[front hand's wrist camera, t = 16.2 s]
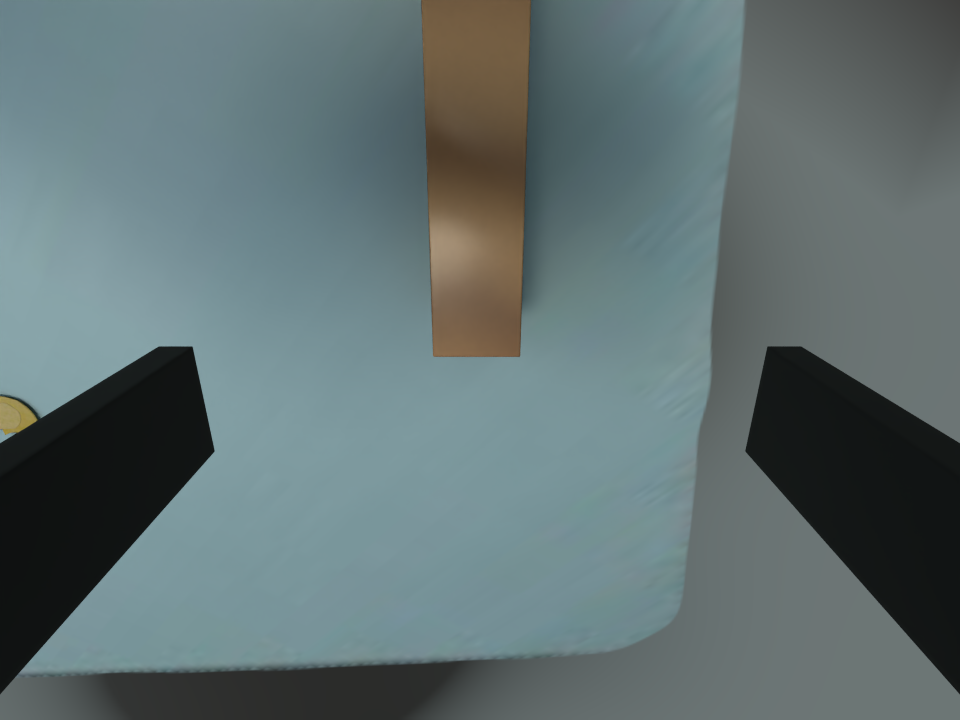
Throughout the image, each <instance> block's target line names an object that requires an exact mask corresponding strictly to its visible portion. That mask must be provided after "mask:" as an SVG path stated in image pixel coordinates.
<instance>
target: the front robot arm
mask: <svg viewBox="0 0 960 720" xmlns="http://www.w3.org/2000/svg"><path fill="white" fill-rule="evenodd" d="M213 453H214V446H213V441H212V436H211V432H210V427H209V422H208V418H207V413H206V408H205V403H204V399H203V394H202V389H201V384H200V380H199V375H198V370H197V366H196V361H195V356H194V351H193V347H157V348H156V349H154V350H152V351H151V352H149V353H148V354H146V355H144V356H143V357H141V358H139V359H138V360H136V361H134V362H133V363H131V364H129V365H128V366H126V367H125V368H123V369H121V370H120V371H118V372H116V373H115V374H113V375H111V376H110V377H108V378H107V379H105V380H103V381H102V382H100V383H98V384H97V385H95V386H93V387H92V388H90V389H88V390H87V391H85V392H84V393H82V394H80V395H79V396H77V397H75V398H74V399H72V400H70V401H69V402H67V403H66V404H64V405H62V406H61V407H59V408H57V409H56V410H54V411H52V412H51V413H49V414H47V415H46V416H44V417H43V418H41V419H39V420H38V421H36V422H34V423H33V424H31V425H29V426H28V427H26V428H25V429H23V430H21V431H20V432H18V433H16V434H15V435H13V436H11V437H10V438H8V439H6V440H5V441H3V442H2V443H0V694H1V693H2V691H3V690H4V689H5V688H6V687H7V686H8V685H9V684H10V682H11V681H12V680H13V679H14V678H15V677H16V676H17V675H18V673H19V672H20V671H21V670H22V669H23V668H24V667H25V665H26V664H27V663H28V662H29V661H30V660H31V659H32V658H33V656H34V655H35V654H36V653H37V652H38V651H39V650H40V649H41V647H42V646H43V645H44V644H45V643H46V642H47V641H48V639H49V638H50V637H51V636H52V635H53V634H54V633H55V632H56V630H57V629H58V628H59V627H60V626H61V625H62V624H63V622H64V621H65V620H66V619H67V618H68V617H69V616H70V615H71V613H72V612H73V611H74V610H75V609H76V608H77V607H78V605H79V604H80V603H81V602H82V601H83V600H84V599H85V598H86V596H87V595H88V594H89V593H90V592H91V591H92V590H93V588H94V587H95V586H96V585H97V584H98V583H99V582H100V581H101V579H102V578H103V577H104V576H105V575H106V574H107V573H108V572H109V570H110V569H111V568H112V567H113V566H114V565H115V564H116V562H117V561H118V560H119V559H120V558H121V557H122V556H123V555H124V553H125V552H126V551H127V550H128V549H129V548H130V547H131V545H132V544H133V543H134V542H135V541H136V540H137V539H138V538H139V536H140V535H141V534H142V533H143V532H144V531H145V530H146V528H147V527H148V526H149V525H150V524H151V523H152V522H153V521H154V519H155V518H156V517H157V516H158V515H159V514H160V513H161V511H162V510H163V509H164V508H165V507H166V506H167V505H168V504H169V502H170V501H171V500H172V499H173V498H174V497H175V496H176V495H177V493H178V492H179V491H180V490H181V489H182V488H183V487H184V485H185V484H186V483H187V482H188V481H189V480H190V479H191V478H192V476H193V475H194V474H195V473H196V472H197V471H198V470H199V468H200V467H201V466H202V465H203V464H204V463H205V462H206V461H207V459H208V458H209V457H210V456H211V455H212V454H213ZM746 453H747V454H748V455H749V456H750V457H751V458H752V459H753V461H754V462H755V463H756V464H757V465H758V466H759V467H760V468H761V470H762V471H763V472H764V473H765V474H766V475H767V476H768V477H769V479H770V480H771V481H772V482H773V483H774V484H775V485H776V487H777V488H778V489H779V490H780V491H781V492H782V493H783V495H784V496H785V497H786V498H787V499H788V500H789V501H790V502H791V504H792V505H793V506H794V507H795V508H796V509H797V510H798V511H799V513H800V514H801V515H802V516H803V517H804V518H805V519H806V521H807V522H808V523H809V524H810V525H811V526H812V527H813V528H814V530H815V531H816V532H817V533H818V534H819V535H820V536H821V538H822V539H823V540H824V541H825V542H826V543H827V544H828V545H829V547H830V548H831V549H832V550H833V551H834V552H835V553H836V555H837V556H838V557H839V558H840V559H841V560H842V561H843V562H844V563H845V565H846V566H847V567H848V568H849V569H850V570H851V572H852V573H853V574H854V575H855V576H856V577H857V578H858V579H859V581H860V582H861V583H862V584H863V585H864V586H865V587H866V588H867V590H868V591H869V592H870V593H871V594H872V595H873V596H874V598H875V599H876V600H877V601H878V602H879V603H880V604H881V605H882V607H883V608H884V609H885V610H886V611H887V612H888V613H889V615H890V616H891V617H892V618H893V619H894V620H895V621H896V622H897V624H898V625H899V626H900V627H901V628H902V629H903V630H904V632H905V633H906V634H907V635H908V636H909V637H910V638H911V639H912V641H913V642H914V643H915V644H916V645H917V646H918V647H919V649H920V650H921V651H922V652H923V653H924V654H925V655H926V656H927V658H928V659H929V660H930V661H931V662H932V663H933V664H934V665H935V667H936V668H937V669H938V670H939V671H940V672H941V673H942V675H943V676H944V677H945V678H946V679H947V680H948V681H949V682H950V684H951V685H952V686H953V687H954V688H955V689H956V690H957V692H958V693H959V694H960V443H958V442H957V441H955V440H954V439H952V438H950V437H949V436H947V435H945V434H944V433H942V432H940V431H939V430H937V429H935V428H934V427H932V426H931V425H929V424H927V423H926V422H924V421H922V420H921V419H919V418H917V417H916V416H914V415H913V414H911V413H909V412H908V411H906V410H904V409H903V408H901V407H899V406H898V405H896V404H894V403H893V402H891V401H889V400H888V399H886V398H885V397H883V396H881V395H880V394H878V393H876V392H875V391H873V390H872V389H870V388H868V387H866V386H865V385H863V384H862V383H860V382H858V381H857V380H855V379H853V378H852V377H850V376H848V375H847V374H845V373H844V372H842V371H840V370H839V369H837V368H835V367H834V366H832V365H831V364H829V363H827V362H826V361H824V360H822V359H821V358H819V357H817V356H816V355H814V354H812V353H811V352H809V351H807V350H806V349H804V348H803V347H767V351H766V356H765V361H764V366H763V370H762V375H761V380H760V385H759V389H758V394H757V399H756V403H755V408H754V413H753V418H752V422H751V427H750V432H749V437H748V442H747V446H746Z"/></svg>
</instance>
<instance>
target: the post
mask: <svg viewBox="0 0 960 720" xmlns="http://www.w3.org/2000/svg"><path fill="white" fill-rule="evenodd" d="M421 4H422V34H423V64H424V94H425V124H426V154H427V184H428V214H429V244H430V274H431V304H432V334H433V356H434V357H520V343H521V311H522V278H523V246H524V214H525V181H526V149H527V116H528V84H529V52H530V19H531V0H421Z"/></svg>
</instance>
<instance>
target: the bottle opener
mask: <svg viewBox="0 0 960 720" xmlns="http://www.w3.org/2000/svg"><path fill="white" fill-rule="evenodd" d="M36 421H38V420H37V418H36V416H35V415H34V413H33V412H32V411H31V410H30V409H29V408H28V407H27V406H25V405H24V404H22V403H21V402H19V401H18V400H15V399H12V398H8V397H3V396H0V429H3V431H4V433H5V435H6V434H8V433H11V432H16V433H18V432H20V431H21V430H23V429H25V428H26V427H28V426H29V425H31V424H33V423H34V422H36Z"/></svg>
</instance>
